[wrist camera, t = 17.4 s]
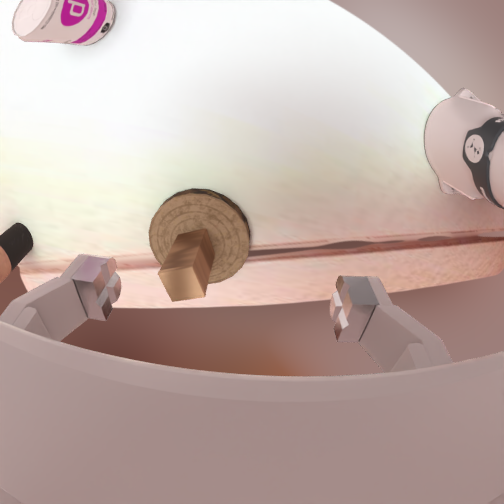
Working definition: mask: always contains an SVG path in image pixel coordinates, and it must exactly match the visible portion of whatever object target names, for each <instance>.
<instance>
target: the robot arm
mask: <svg viewBox="0 0 504 504" xmlns="http://www.w3.org/2000/svg"><path fill="white" fill-rule="evenodd" d="M501 113H502V112H501V111H500V110H499V109H497V108H495V107H494V106H493V105H491V104H488V103H484V102H482V101H481V100H480V99H479V98H478V97H477V96H475V95H474V94H473V93H472V92H471V91H469V90H468V89H465V88H461V89H460V90H459V91H458V92H457V93H456V94H455V96H454V97H452V98H449V99H446V100H444V101H442V102H441V103H439V104H438V105H437V106H436V107H435V108H434V109H433V111H432V112H431V114H430V116H429V118H428V121H427V124H426V129H425V150H426V155H427V158H428V161H429V163H430V165H431V167H432V168H433V170H434V171H435V173H436V174H437V176H438V178H439V183H440V187H441V190H442V191H443V192H444V193H446V194H464V195H465V196H467V197H468V198H470V199H472V200H474V199H475V198H476V199H482V198H486V199H487V200H488V201H489V202H491V203H492V204H494V205H496V206H498V207H500V208H503V209H504V115H503V114H501ZM116 269H117V264H116V260H115V259H114V258H113V257H105V256H97V255H88V254H80V255H78V256H77V257H76V258H75V260H74V261H73V262H72V263H71V264H70V266H69V267H68V268H67V269H66V270H65V272H64V273H63V274H62V275H61V276H60V277H56V278H54V279H52V280H50V281H48V282H46V283H44V284H42V285H40V286H39V287H37V288H35V289H33V290H31V291H29V292H27V293H25V294H24V295H22V296H20V297H18V298H17V299H15V300H13V301H12V302H11V303H10V304H9V306H8V307H7V308H6V309H5V311H4V312H3V314H2V315H1V316H0V504H504V351H502V352H499V353H495V354H491V355H487V356H483V357H479V358H475V359H471V360H465V361H461V362H455V363H453V361H452V359H451V357H450V355H449V353H448V351H447V349H446V347H445V345H444V343H443V341H442V339H440V338H439V337H438V336H436V335H435V334H434V333H433V332H431V331H430V330H429V329H427V328H426V327H425V326H423V325H422V324H421V323H420V322H418V321H417V320H415V319H414V318H413V317H412V316H410V315H409V314H407V313H406V312H405V311H403V310H402V309H401V308H399V307H398V306H397V305H393V304H392V302H391V300H390V298H389V296H388V294H387V292H386V290H385V288H384V286H383V284H382V282H381V280H380V279H379V278H378V277H372V276H365V277H359V276H339V277H338V279H337V282H336V288H337V291H336V292H335V293H333V294H332V298H331V302H330V315H331V319H332V320H333V321H334V322H335V326H334V332H335V336H336V340H337V342H359V345H360V346H361V347H362V348H363V349H364V350H365V351H366V352H367V353H368V355H369V356H370V357H371V358H372V359H373V360H374V361H375V362H376V364H377V365H378V366H379V367H380V368H381V369H382V370H383V371H384V373H376V374H363V375H346V376H312V377H311V376H309V377H299V376H297V377H296V376H291V377H290V376H261V375H244V374H230V373H219V372H210V371H201V370H193V369H185V368H177V367H171V366H164V365H158V364H153V363H147V362H141V361H136V360H131V359H126V358H121V357H117V356H112V355H107V354H103V353H99V352H95V351H91V350H87V349H84V348H80V347H76V346H73V345H69V344H65V343H62V342H60V341H61V340H62V339H63V338H65V337H66V336H67V335H68V334H70V333H71V332H72V331H73V330H75V329H76V328H77V327H78V326H80V325H81V324H82V323H83V322H85V321H86V320H87V319H88V318H91V319H97V320H103V321H106V320H107V319H108V317H109V315H110V313H111V311H112V309H113V308H112V305H111V304H113V303H114V302H116V301H117V300H118V298H119V296H120V292H121V280H120V277H119V276H118V274H117V273H116V272H115V271H116Z"/></svg>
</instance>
